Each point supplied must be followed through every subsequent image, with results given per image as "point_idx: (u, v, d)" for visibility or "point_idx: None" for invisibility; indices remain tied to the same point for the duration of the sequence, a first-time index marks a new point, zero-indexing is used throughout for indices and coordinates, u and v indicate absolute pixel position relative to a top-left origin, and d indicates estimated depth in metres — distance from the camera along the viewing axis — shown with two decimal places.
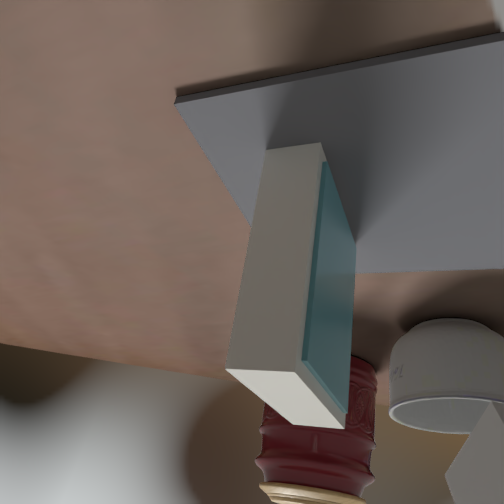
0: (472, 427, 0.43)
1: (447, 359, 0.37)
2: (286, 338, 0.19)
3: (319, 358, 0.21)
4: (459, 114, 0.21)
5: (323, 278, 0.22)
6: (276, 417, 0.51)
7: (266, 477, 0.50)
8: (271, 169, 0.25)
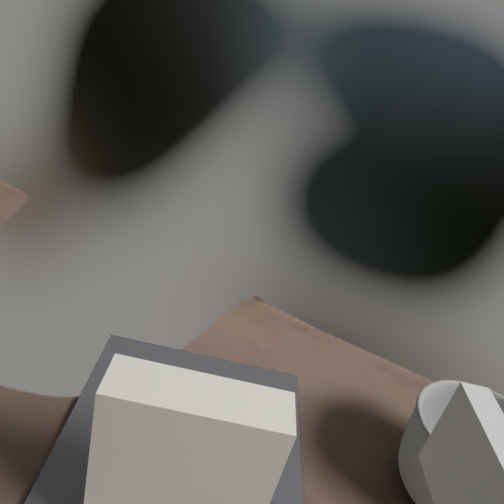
0: None
1: (409, 451, 0.35)
2: None
3: None
4: None
5: None
6: None
7: None
8: None
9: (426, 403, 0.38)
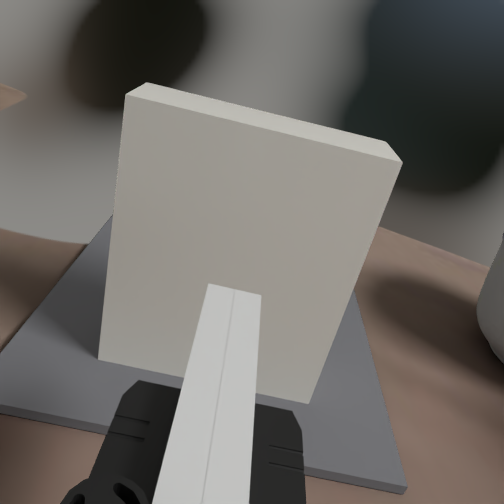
0: None
1: (497, 292, 0.29)
2: None
3: None
4: None
5: None
6: None
7: None
8: None
9: None
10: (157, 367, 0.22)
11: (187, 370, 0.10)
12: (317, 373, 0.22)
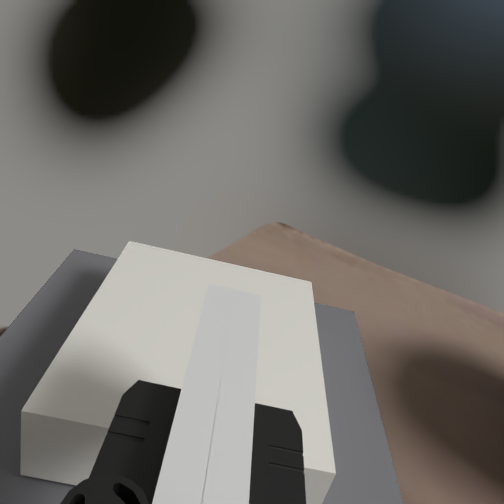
0: None
1: None
2: None
3: None
4: None
5: None
6: None
7: None
8: None
9: None
10: None
11: (187, 370, 0.10)
12: (326, 426, 0.17)
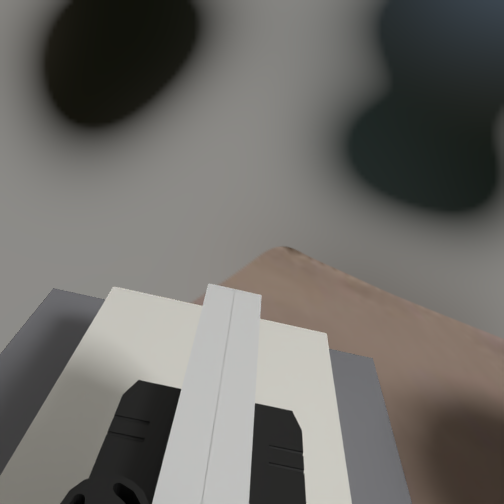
0: None
1: None
2: None
3: None
4: None
5: None
6: None
7: None
8: None
9: None
10: None
11: (187, 370, 0.10)
12: None
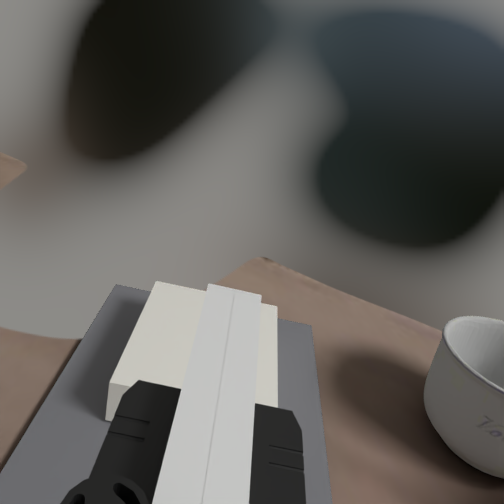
0: None
1: (436, 384, 0.33)
2: None
3: None
4: None
5: None
6: None
7: None
8: None
9: (451, 340, 0.36)
10: None
11: (187, 370, 0.10)
12: (275, 392, 0.30)
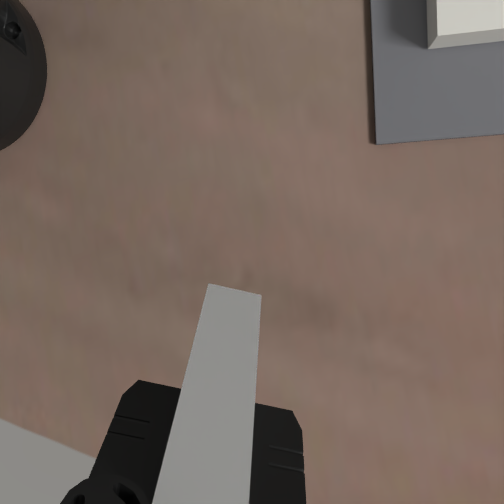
0: None
1: None
2: None
3: None
4: None
5: None
6: None
7: None
8: (435, 17, 0.33)
9: None
10: (479, 27, 0.32)
11: (187, 370, 0.10)
12: None
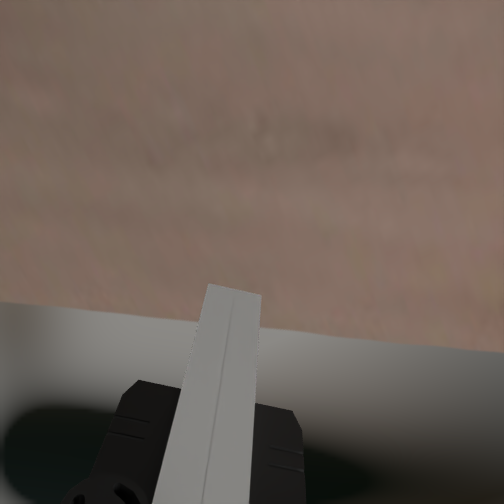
0: None
1: None
2: None
3: None
4: None
5: None
6: None
7: None
8: None
9: None
10: None
11: (187, 370, 0.10)
12: None
